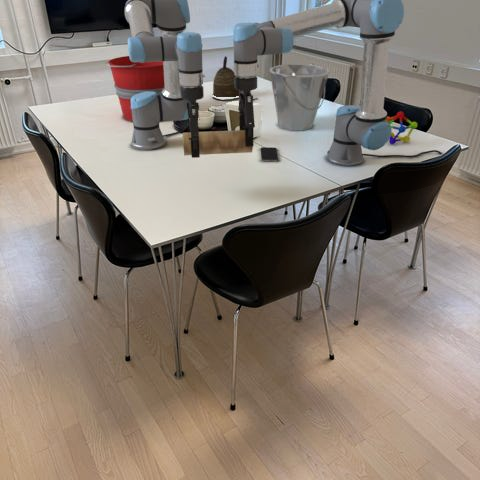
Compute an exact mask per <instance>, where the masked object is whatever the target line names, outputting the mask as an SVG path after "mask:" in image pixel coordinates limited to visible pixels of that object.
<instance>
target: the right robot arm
mask: <svg viewBox="0 0 480 480" xmlns="http://www.w3.org/2000/svg"><path fill="white" fill-rule="evenodd" d="M404 16H405V7H404V4H403V1H402V0H332V2H331V3H328V4H325V5H321V6H317V7H314V8H309V9H307V10H303V11H300V12H299V11H298V12H297V13H292V14H288V15H285V16H281V17H278V18H275V19H270V20H266V21H263V22H260V23H259V22H239V23H238V22H237V23H236V24H235V25H234V26H233V33H232V34H233V35H232V36H233V38H232V42H233V72H234V75H235V78H234V87H235V89H237V90H239V98H238V103H239V105H238V109H237V110H238V114H239V116H238V117H239V118H238V120H239V125H238V126H239V130H245V147H249V146H253V147H254V129H255V127H256V125H255V124H256V123H255V112H254V100H253V99H254V96H253V94H252V91H255V90H257V88H258V77H257V76H258V69H259V68H260V65H259V64H258V61H259V60H258V56H267V55H269V56H270V55H283V54H287V53H290V52H291V51H292V50H293V47H294V41H295V39H296V38H299V37H303V36H306V35H307V36H308V35H310V34H313V33H317V32H321V31H324V30H327V29H331V28H336V29H341V28H346V27H347V28H348V27H351V28H352V27H353V28H359V38H360V39H361V41H362V42H363V52H362V68H361V84H360V85H361V86H360V98H359V104H349V105H348V104H347V105H342V106H338V108H337V111H336V113H335V122H334V132H333V139H332V143H331V145H330V146H329V149H328V151H327V153H326V154H327V155H326V159H327V161H328V162H329V163H331V164H334V165H337V166H340V167H341V166H342V167H353V166H359V165H362V163H363V160H364V156H366V157H372V158H373V157H374V158H417V157H419V156H421V155H423V154H429V153H437V154H439V155H443V153H442V152H441V151H440V150H437V149H434V150H433V149H431V150H427V151H422V152H419V153H418V154H413V155H405V154H385V155H381V154H370V153H363V149H362V148H364V149H367V150H369V151H377V150H379V149H381V148H383V147H384V146H385V145H386V144H387V143H388V142H389V140H390V136H391V133H393V128H391V126H392V125H391V124H390V125H389V123H387V122H386V119H387V117H388V112H387V110H385V109H384V105H385V94H386V85H387V84H386V82H387V71H388V61H389V51H390V41H391V40H392V39H393V38H394V37H395V36H396V35H395V34H396V31H397V30H398V29H399V27H400V25H401V24H402V23H403V21H404Z"/></svg>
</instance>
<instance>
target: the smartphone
mask: <svg viewBox="0 0 480 480" xmlns="http://www.w3.org/2000/svg"><path fill="white" fill-rule="evenodd" d="M278 155H279V154H278V149H277V147H273V146H272V147H268V146H267V147H266V146H263V147H260V159H261V161H262V162H279V156H278Z"/></svg>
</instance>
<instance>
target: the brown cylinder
mask: <svg viewBox="0 0 480 480" xmlns="http://www.w3.org/2000/svg"><path fill="white" fill-rule="evenodd" d="M189 138H191V132H190V131H189V132H187V131H186V132H182V143H183V145H182V146H183V156H192V153H191V140H189ZM253 147H254V145H253V146H249V147H245V130H240V129H239V130H236V129H235V130H216V131H215V130H214V131H211V130H210V131H199V153H200V156H203V155H204V156H206V155H225V154H246V153H249V154H250V153H253V150H254V148H253Z"/></svg>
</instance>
